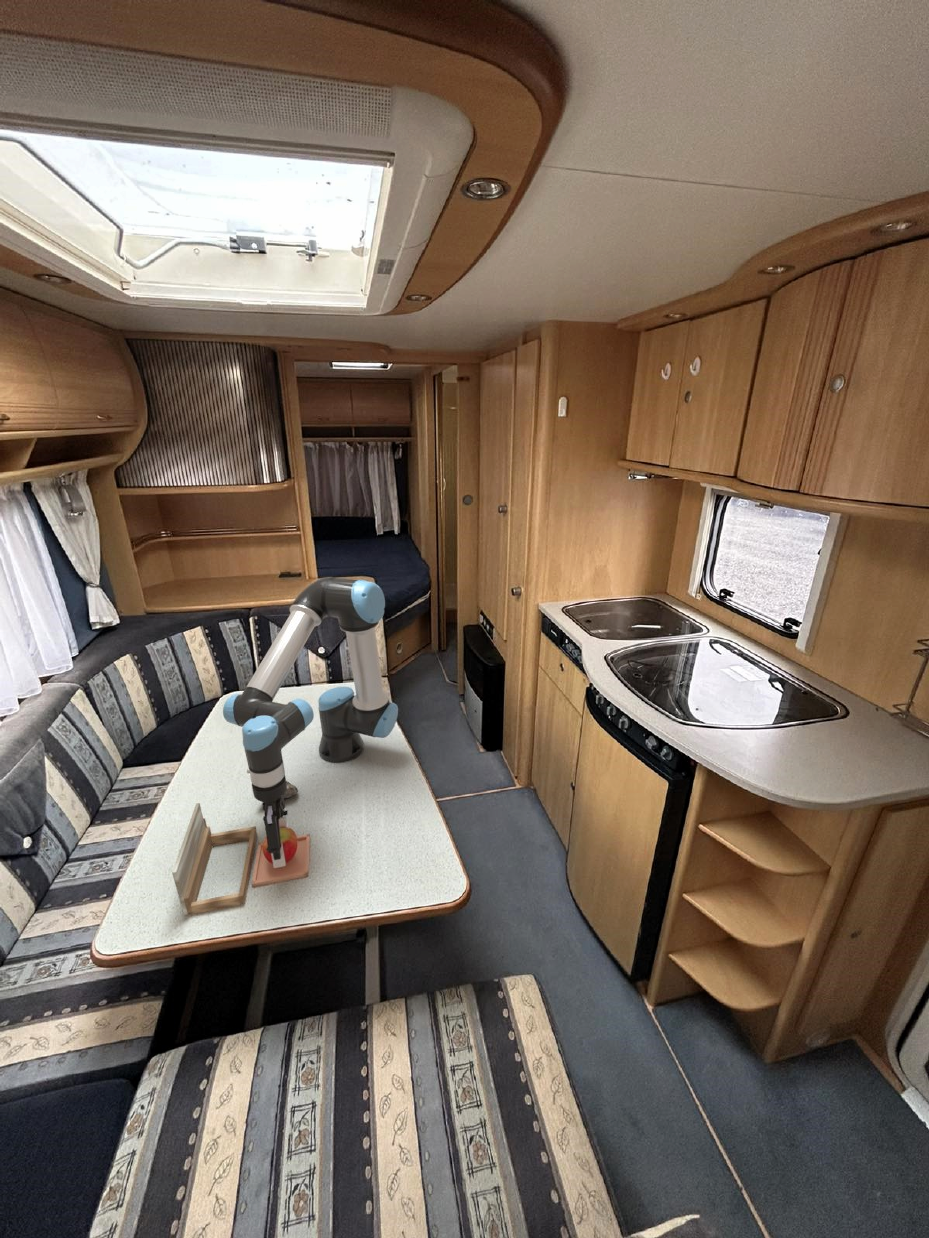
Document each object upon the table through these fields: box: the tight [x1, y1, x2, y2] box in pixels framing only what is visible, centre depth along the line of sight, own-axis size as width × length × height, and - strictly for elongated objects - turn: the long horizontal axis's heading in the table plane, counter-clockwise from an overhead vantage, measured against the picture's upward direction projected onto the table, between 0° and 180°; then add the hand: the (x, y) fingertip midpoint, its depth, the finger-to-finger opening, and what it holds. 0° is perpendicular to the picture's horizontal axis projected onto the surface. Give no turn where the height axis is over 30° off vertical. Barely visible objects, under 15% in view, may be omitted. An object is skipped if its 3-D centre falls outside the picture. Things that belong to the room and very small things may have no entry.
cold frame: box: [171, 802, 258, 916], centre depth 124 cm, size 13×23×14 cm, turn 14°
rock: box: [283, 780, 299, 799], centre depth 150 cm, size 11×6×10 cm
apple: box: [262, 826, 297, 864], centre depth 127 cm, size 8×8×10 cm
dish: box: [251, 833, 311, 888], centre depth 129 cm, size 13×13×2 cm
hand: (281, 851), depth 128 cm, fingers closed on apple, 8 cm apart
